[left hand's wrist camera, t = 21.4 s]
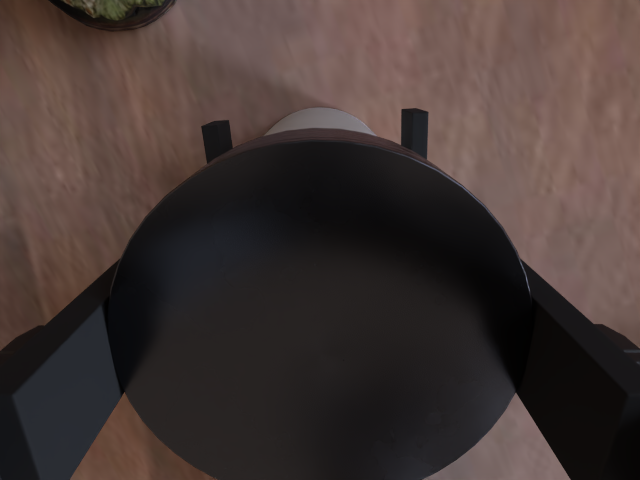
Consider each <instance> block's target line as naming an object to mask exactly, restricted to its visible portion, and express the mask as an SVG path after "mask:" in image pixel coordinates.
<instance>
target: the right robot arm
mask: <svg viewBox="0 0 640 480" xmlns="http://www.w3.org/2000/svg"><path fill="white" fill-rule="evenodd" d="M201 127H202V133H203V140H204V146H205V152H206V159H207V164H208V163H209V162H211V161H212V160H213V159H215V158H217V157H218V156H220V155H222V154H224V153H226V152H227V151H229V150H231V149H233V147H232V140H231V132H230V125H229V120H223V121H214V122H211V123H208V124H206V125H203V126H201ZM427 138H428V112H427V111H423V110H420V109H417V108H412V109H402V115H401V146H403V147H405V148H407V149H410V150H412V151H414V152H416V153H417V154H419V155H420V156H422V157H423V158H425V159H426V160H427Z"/></svg>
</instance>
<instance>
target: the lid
mask: <svg viewBox="0 0 640 480" xmlns="http://www.w3.org/2000/svg"><path fill="white" fill-rule="evenodd" d="M532 330H533V314H532V298H531V294H530V289H529V285H528V280H527V276H526V273H525V270H524V268H523V265H522V263H521V260H520V258H519V255H518V253H517V250H516V248H515V247H514V245H513V243H512V242H511V240H510V238H509V237H508V235H507V233H506V232H505V230H504V228H503V227H502V225H501V224H500V223H499V222H498V221H497V219H496V218H495V217H494V216H493V215H492V213H491V212H490V211H489V210H488V209H487V207H486V206H485V205H484V204H483V203H482V202H481V201H479V200H478V199H477V198H476V197H475V196H474V195H473V194H472V193H470V192H469V191H468V190H467V189H466V188H465V187H464V186H463V185H461V184H460V183H458V182H457V181H456V180H454V179H453V178H452V177H450V176H449V175H448V174H446V173H445V172H444V171H442V170H441V169H440V168H438V167H437V166H435V165H434V164H432V163H431V162H429V161H428V160H426V159H425V158H423V157H422V156H420V155H419V154H417V153H416V152H414V151H412V150H410V149H407V148H405V147H403V146H401V145H399V144H397V143H395V142H393V141H390V140H387V139H384V138H380V137H377V136H374V135H371V134H368V133H363V132H357V131H351V130H345V129H335V128H306V129H297V130H287V131H283V132H278V133H274V134H270V135H266V136H262V137H259V138H256V139H254V140H251V141H249V142H246V143H244V144H241V145H239V146H236V147H234V148H233V149H231V150H229V151H227V152H226V153H224V154H222V155H220V156H218V157H217V158H215V159H213V160H212V161H211V162H209V163H208V164H207V165H205V166H204V167H203V168H201V169H200V170H199V171H197V172H196V173H195V174H193V175H192V176H191V177H189V178H188V179H187V180H185V181H184V182H183V183H181V184H180V185H179V186H178V187H176V188H175V189H174V190H172V191H171V192H170V193H169V194H167V195H166V196H165V197H164V198H163V199H162V200H161V201H160V202H159V203H158V204H157V205H156V206H155V207H154V208H153V209H152V211H151V212H150V213H149V214H148V215H147V216H146V217H145V218H144V220H143V221H142V223H141V224H140V225H139V227H138V228H137V230H136V231H135V233H134V234H133V235H132V237H131V238H130V240H129V242H128V244H127V246H126V248H125V250H124V252H123V254H122V256H121V258H120V261H119V263H118V266H117V269H116V272H115V275H114V279H113V282H112V285H111V290H110V298H109V305H108V339H109V344H110V349H111V354H112V359H113V363H114V366H115V369H116V372H117V375H118V378H119V381H120V383H121V385H122V387H123V389H124V391H125V393H126V395H127V397H128V399H129V401H130V403H131V404H132V406H133V407H134V409H135V410H136V412H137V413H138V415H139V416H140V418H141V419H142V421H143V422H144V423H145V424H146V425H147V426H148V427H149V429H150V430H151V431H152V432H153V433H154V434H155V435H156V436H157V438H158V439H159V440H161V441H162V442H163V443H164V444H165V445H166V446H167V447H168V448H170V449H171V450H172V451H173V452H174V453H175V454H177V455H178V456H180V457H181V458H182V459H184V460H185V461H187V462H188V463H189V464H191V465H192V466H194V467H195V468H197V469H199V470H201V471H203V472H204V473H206V474H208V475H210V476H212V477H214V478H216V479H218V480H422V479H424V478H426V477H428V476H430V475H432V474H434V473H436V472H438V471H440V470H441V469H443V468H444V467H446V466H448V465H449V464H451V463H452V462H454V461H455V460H457V459H458V458H459V457H461V456H462V455H463V454H464V453H466V452H467V451H468V450H469V449H471V448H472V447H473V446H475V445H476V444H477V443H478V441H479V440H480V439H481V438H482V437H483V436H484V435H485V434H486V433H487V432H488V431H489V430H490V429H491V428H492V427H493V426H494V424H495V423H496V422H497V420H498V419H499V418H500V417H501V415H502V414H503V413H504V411H505V410H506V408H507V406H508V405H509V403H510V401H511V400H512V398H513V396H514V394H515V393H516V391H517V388H518V386H519V384H520V381H521V379H522V376H523V374H524V371H525V368H526V364H527V360H528V355H529V351H530V346H531V340H532Z"/></svg>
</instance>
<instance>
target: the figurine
mask: <svg viewBox="0 0 640 480" xmlns="http://www.w3.org/2000/svg"><path fill="white" fill-rule="evenodd" d="M49 1H50V2H51V3H53V4H54V5H55V6H57V7H58V8H60V9H61V10H62V11H64V12H65V13H66V14H68V15H69V16H71V17H73V18H74V19H76V20H78V21H79V22H81V23H83V24H85V25H86V26H90V27H93V28H97V29H101V30H108V31H116V30H129V29H136V28H139V27H143V26H146V25H148V24H150V23H152V22H154V21H155V20H157V19H158V18H159V17H161V16H162V15H163V14H165V13H166V12H167V11H168V10H169V9H170V8H171V7H172V6H173V5H174V4H175V2H176V0H49Z"/></svg>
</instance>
